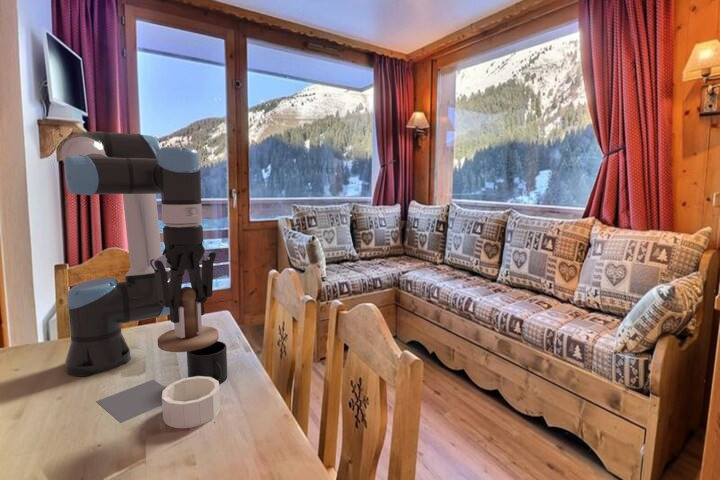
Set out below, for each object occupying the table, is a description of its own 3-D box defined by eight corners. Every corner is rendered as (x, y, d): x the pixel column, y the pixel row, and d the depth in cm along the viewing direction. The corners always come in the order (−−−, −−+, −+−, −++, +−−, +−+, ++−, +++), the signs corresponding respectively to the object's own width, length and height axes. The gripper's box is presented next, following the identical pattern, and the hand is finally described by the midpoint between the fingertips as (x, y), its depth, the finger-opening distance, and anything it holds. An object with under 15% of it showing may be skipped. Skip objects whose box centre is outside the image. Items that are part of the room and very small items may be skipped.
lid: (147, 341, 85) (143, 287, 83) (199, 326, 94) (196, 277, 92) (176, 357, 78) (173, 298, 76) (229, 338, 87) (228, 286, 85)
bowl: (153, 416, 88) (151, 391, 87) (201, 394, 97) (200, 371, 96) (181, 437, 81) (180, 410, 80) (230, 412, 90) (229, 387, 89)
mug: (202, 399, 95) (200, 363, 93) (182, 380, 103) (180, 347, 102) (239, 385, 101) (237, 351, 100) (217, 368, 110) (216, 337, 108)
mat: (96, 403, 92) (95, 401, 92) (153, 381, 102) (153, 379, 102) (120, 425, 84) (120, 422, 84) (180, 399, 95) (179, 396, 94)
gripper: (151, 229, 73) (159, 350, 77) (228, 222, 86) (231, 326, 90) (133, 226, 78) (141, 340, 82) (208, 220, 91) (212, 319, 94)
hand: (188, 333), depth 86 cm, fingers closed on lid, 3 cm apart
